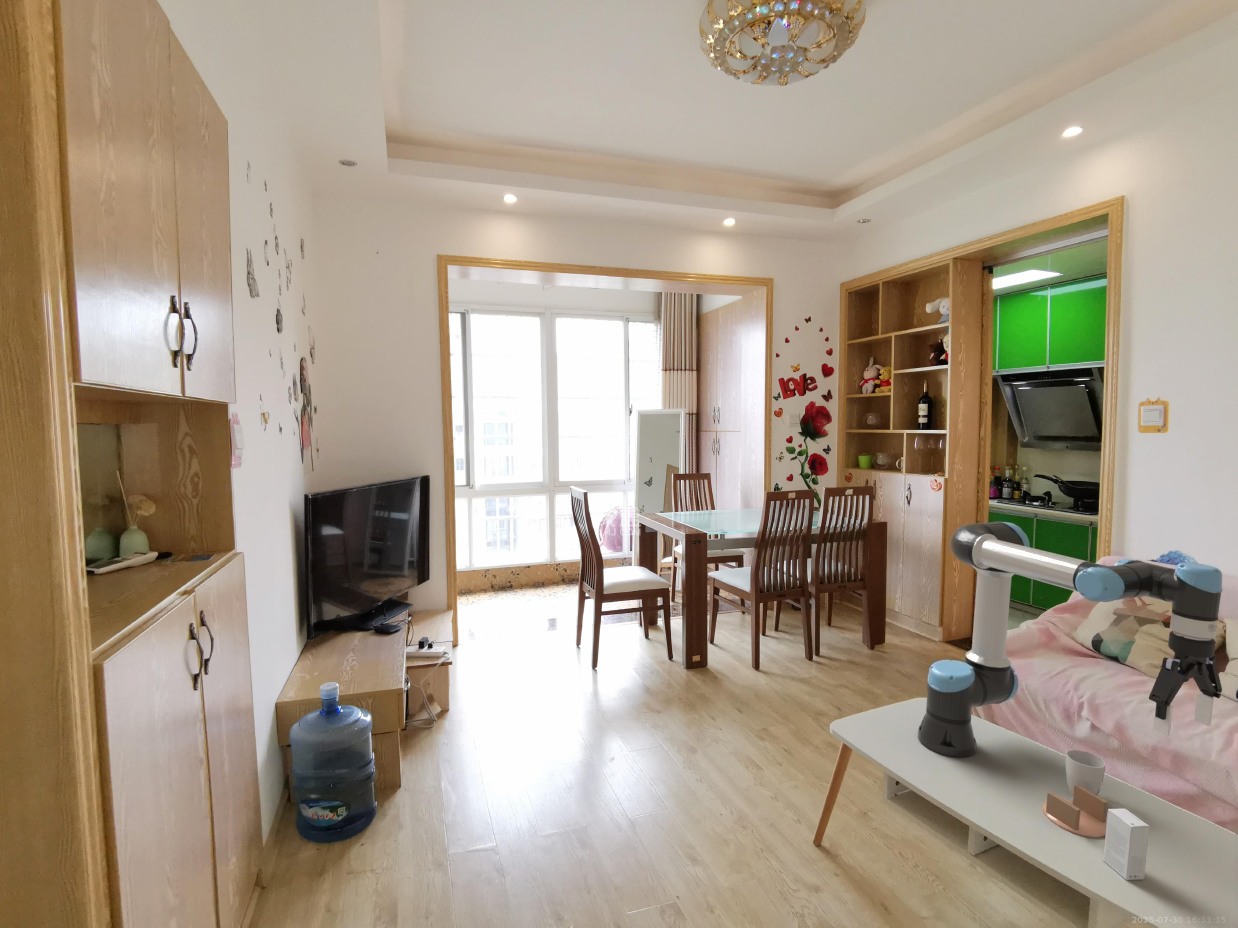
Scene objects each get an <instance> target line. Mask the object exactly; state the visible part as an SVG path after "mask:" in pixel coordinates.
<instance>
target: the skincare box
mask: <svg viewBox="0 0 1238 928" xmlns="http://www.w3.org/2000/svg"><path fill="white" fill-rule="evenodd" d="M1106 821H1107V826H1106V836H1105V838H1104V839H1105V840H1104V849H1103V859H1102V860H1103V862H1104V863H1106V864H1107V865H1108V866H1109V867H1110V868H1111V869H1113V870H1114V871H1115V872H1116V873H1118V874H1119V875H1120V876H1121V877H1122V878H1123V879H1124V880H1125V881H1134V880H1137V881H1139V880H1145V875H1146V866H1147V864H1146V863H1147V856H1148V844H1149V833H1150V825H1149V824H1147V823H1146V822H1144V821H1143V820H1141V819H1140V818H1139V817H1138V816H1136V815H1135V814H1134V813H1132V812H1130V811H1129V810H1128V809H1127V808H1107V816H1106Z"/></svg>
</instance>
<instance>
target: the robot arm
mask: <svg viewBox="0 0 1238 928" xmlns="http://www.w3.org/2000/svg"><path fill="white" fill-rule="evenodd" d="M949 546H950V550H951V552H952V554H953V556H954V557H955V558H956V559H957V560H958V561H960V562H961V563H963V564H966V565H968V566H972V568H973V569H975V570H976V572H977V576H976V588H975V589H976V591H975V601H974V602H975V603H974V616H973V628H972V629H973V631H972V639H971V640H972V644H971V649H970V650H968V651H967V652H966V653H965V655H964V656H965V659H964V661H962V660H955V659H953V660H950V659H942V660H941V659H940V660H938V661H935V662H934V663H932V664H931V665H930V667H929V671H928V675H927V687H926V688H927V690H926V707H925V708H926V709H925V714H924V716H923V718H922V720H921V723H920V725H919V726H918V730H917V739H918V741H919V742H920V743H921V744H922V745H923V746H924V747H926V749H929V750H930V751H933V752H934V753H938V754H940V755H945V756H948V757H952V758H953V757H954V758H967V757H971V756H973V755H975V754H976V751H977V739H976V738H975V735H974V730H973V725H972V713H973V708H979V707H983V706H988V705H999V704H1003V703H1004V702H1008V701H1010V700H1011V699H1013V698H1014V697H1015V696H1016V694H1017V692H1018V689H1019V678H1018V675H1017V674H1016V670H1015V669H1014V667H1012V663H1011V660H1010V659H1009V658H1008V657H1007V656H1006V650H1007V637H1008V636H1007V635H1008V626H1009V625H1008V624H1009V614H1010V613H1009V610H1010V601H1011V588H1012V577H1013V576H1014V575H1017V576H1021V577H1025V578H1027V579H1032V580H1035V581H1039V582H1042V583H1045V584H1048V585H1053V586H1056V587H1060V588H1063V589H1065V590H1066V589H1067V590H1070V591H1074V592H1077V593H1079V594H1080V595H1081V596H1082V597H1083V598H1084V599H1086V600H1087V601H1092V602H1093V603H1094V602H1096V603H1098V602H1101V603H1110V602H1113V601H1119V600H1125V599H1133V598H1143V597H1147V598H1153V599H1157V600H1161V601H1164V602H1168V603H1171V616H1170V624H1169V629H1170V632H1169V635H1168V644H1167V647H1168V648H1169V649H1170V650H1171V651H1172V652H1173V654H1174V655H1173V658H1168V657H1163V658H1162V662H1161V666H1160V667H1161V668H1160V670H1159V672H1158V674H1157V677H1156V679H1155V681H1154V684H1153V686H1152V688H1151V691H1150V693H1149V696H1148V699H1149V700H1150V701H1152V702H1154V703H1155V710H1154V712H1155V714H1154V723H1153V730H1154V731H1156V732H1158V733H1161V734H1163V735H1166V736H1170V735H1171V727H1172V721H1173V720H1172V718H1173V717H1172V716H1173V709H1174V706H1173V705H1171V704H1172V702H1173V701H1174V699H1175V697H1176V696H1177V694H1178V693H1179V692H1180V689H1181V688H1182V686H1183V685H1184V683H1187V682H1188V681H1190V679H1191V678H1193V680H1194V681H1195V684H1196V685H1197V687H1198V689H1199V691H1200V692H1197V693H1196V699H1195V700H1196V702H1195V710H1194V711H1195V712H1194V718H1193V719H1194V721H1195V722H1196V723H1200V724H1202V725H1205V726H1206V727H1210V726H1211V724H1212V716H1213V708H1214V701H1215V699H1214V698H1216V699H1220V698H1221V696H1222V695H1221V693H1223V692H1222V691H1223V687H1222V683H1221V679H1220V676H1219V675H1220V674H1219V670H1218V666H1217V655H1216V654H1215V652H1216V651H1215V650H1216V640H1215V638H1216V637H1217V631H1219V629H1220V628H1219V626H1218V623H1219V622H1218V621H1219V612H1220V603H1221V598H1222V597H1221V596H1222V593H1223V590H1224V589H1223V572H1222V571H1221V569H1219V568H1218V567H1216V566H1212V565H1209V564H1204V563H1198V562H1197V563H1196V562H1188V561H1187V562H1186V561H1185V562H1179V563H1178V564H1176V566H1175V567H1176V568H1171V567H1168V566H1167V567H1166V566H1163V565H1159V564H1158V565H1157V564H1154V563H1149V562H1145V561H1142V560H1138V559H1136V560H1135V559H1129V558H1122V559H1120V560H1118V561H1117V562H1115V563H1114V564H1113V565H1103V564H1100V563H1095V562H1092V561H1091V562H1090V561H1087V560H1083V559H1080V558H1076V557H1071V556H1067V555H1062V554H1058V553H1055V552H1049V551H1045V550H1041V549H1038V548H1034V547H1030V541H1029V538H1028V536H1027V533H1025V532H1024V531H1023V529H1022V528H1021V527H1020V526H1019V525H1016V524H1015V523H1013V522H1008V521H1007V522H1006V521H992V522H991V521H990V522H980V523H979V522H978V523H967V524H963V525H962V526H960V527H958V528H957V529H956V530H954V532H953V533H952V536H951V538H950V544H949Z"/></svg>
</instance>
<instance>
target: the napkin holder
mask: <svg viewBox="0 0 1238 928" xmlns="http://www.w3.org/2000/svg"><path fill="white" fill-rule="evenodd" d="M1072 797H1073V799H1072V801H1068V800H1066V799H1064V798H1063V797H1061V796H1060V795H1058V794H1056V793H1055V792H1053V791H1049V792H1047V797H1046V801H1045V802H1044V803H1043V805H1042V811H1043V814H1044V816H1045V817H1046V818H1047V820H1049V821H1050V822H1051V823H1053V824H1054V825H1056V826H1058V827H1059V828H1061V829H1063V830H1065V831H1067V832H1070V833H1072V834H1074V835H1077V836H1081V837H1085V838H1094V839H1096V838H1097V839H1099V838H1104V837H1106V826H1107V815H1108V807H1109V806H1108V804H1109V803H1108V802H1109V801H1108V800H1106V799H1104V798H1102V797H1101V796H1098V795H1095V794H1094V793H1092V792H1090V791H1088V790H1087V789H1085V788H1083V787H1081V786H1079V785H1075V786H1074V796H1072Z"/></svg>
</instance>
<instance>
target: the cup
mask: <svg viewBox="0 0 1238 928" xmlns="http://www.w3.org/2000/svg"><path fill="white" fill-rule="evenodd" d="M1106 765H1107V764H1106V761H1105V760H1104V759H1103V758H1101V757H1100V756H1098V755H1097V754H1094V753H1091V752H1088V751H1086V750H1082V749H1069V750H1067V751H1066V752H1065V775H1066V782H1067V786H1068V789H1069V793H1070V795H1071V796H1072V797H1073V796H1074V786H1075V785H1079V786H1081V787H1083V788H1085V789H1087V790H1088V791H1090V792H1092V793H1094V794H1095V795H1097V796H1098V795H1099V793H1100V791H1101V787H1102V785H1103V781H1104V776H1105V770H1106Z"/></svg>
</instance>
